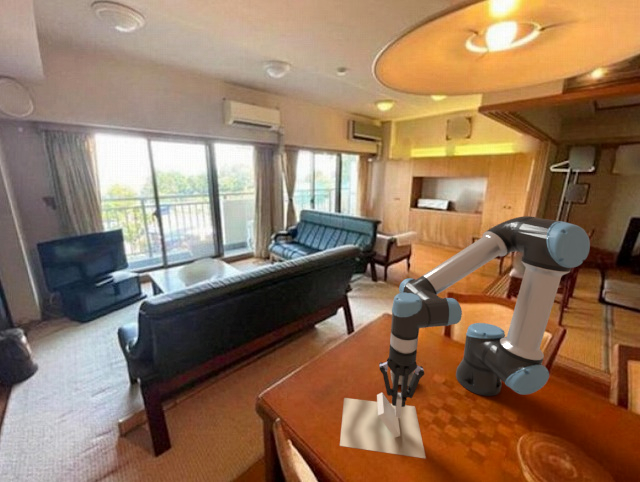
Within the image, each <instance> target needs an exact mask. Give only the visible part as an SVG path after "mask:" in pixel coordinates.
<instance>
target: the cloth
mask: <svg viewBox="0 0 640 482" xmlns="http://www.w3.org/2000/svg"><path fill="white" fill-rule="evenodd" d="M390 404H391V405H392V402H391V403H390ZM342 407H343V408H342V419H341V426H340V427H341V429H340V439H339V440H340V441H339V446H340V447H346V448H352V449H358V450H367V451H372V452H373V451H374V452H380V453H387V454H392V455H399V456H406V457H412V458H413V457H414V458H421V459H424V460H425V459H427V456H426V451H425V447H424V444H423V439H422V434H421V429H420V424H419V420H418V415H417V409H416V406H414V405H407V404H405V407H401V417H398V421H399V429H400V436H398V437H396V438H394V437H393V435H392V434H391V432H390V431H389V430H388V428H387V427H386V426H385V424H384V423H383V422H382V420H381V419H380V418H379V416H378V405H377V401H375V400H374V401H372V400H366V399H365V400H364V399H356V398H348V397H344V398H343V406H342ZM392 407H393V408H394V409H395V406H393V405H392Z"/></svg>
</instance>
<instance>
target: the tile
mask: <svg viewBox="0 0 640 482" xmlns="http://www.w3.org/2000/svg"><path fill="white" fill-rule="evenodd" d="M376 402H377V405H378V416H379V418H380V419H381V420H382V422H383V423H384V424H385V426H386V427H387V428H388V430H389V431H390V432H391V434H392V435H393V437H394V438H396V437H398V436H400V429H399V421H398V417H395V409H394V408H393V407H392V405H391V404H392V403H391V404H390V401H389V400H388V398H387V397H386V396H385V394H384V393H383V392H380V393H378V394H376Z"/></svg>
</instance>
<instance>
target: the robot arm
mask: <svg viewBox="0 0 640 482" xmlns="http://www.w3.org/2000/svg"><path fill="white" fill-rule="evenodd" d="M590 247H591V241H590V237H589V234H587V232H586V230H585V229H584V228H582V227H581V226H579V225H577V224H573V223H569V222H567V221H562V220H553V219H547V218H540V217H537V216H531V215H530V216H529V215H528V216H526V215H524V216H518V217H514V218H511V219H508V220H505V221H503V222H501V223H498V224H497V225H495V226H493V227H491V228H490V229H488V230H486V231H485V232H483V234H482V237H481V238H479V239H477V240H476V241H475V242H472V244H470V245H468V246H467V247H465V248H464V249H462V250H461V251H459V252H458V253H456V254H454V255H453V256H451V257H449V258H448V259H446V260H444V261H443V262H441V263H439V265H437V266H435V267H434V268H432V269H431V270H429V271H427V272H426V273H424V274H422V275H421V276H420V277H418V278H417V279H415V278H412V277H411V278H408V277H407V278H405V279H403V280H402V281H401V282H400V284H399V286H398V287H399V288H398V291H399V293H397V294H396V295H394V297H393V302H392V307H391V326H390V327H391V329H390V340H389V343H390V344H389V351H388V352H389V353H388V358H387V359H386V362H381V361H380V362H379V371H380V372H381V375H382V376H383V381H384V382H383V383H384V387H385V392H386V395H387V396H389V397H390V396H391V404H392V405H393V406H395V417H401V407H405V405H406V402H407V398H409V399H412V398H413V397H414V394H415V392H416V390H417V387H418V385H419V383H420V380H421V378H422V377H423V376H424V375H425V371H424V367H423V366H422V365H421V366H419V364H418V363H417V355H418V351H417V350H418V342H419V334H420V329H424V328H425V329H426V328H434V327H448V326H451V325H457V324H458V323H460V321H461V320H462V317H463V316H462V315H463V310H462V307H461V305H460V303H459V301H457V299H455V298H453V297H444V298H443V297H440V296H438V295H439V294H441V292H444V291H445V290H447V289H448V288H450V287H451V286H453V285H454V284H456V283H457V282H459V281H461V280H463V279H464V278H466V277H467V276H468V275H470V274H472V273H474V272H475V271H476V270H478V269H481V267H482V266H484V265H486V264H488V263H489V262H490V261H492V260H494V259H495V258H497V257H504V256H506V255H508V254H509V253H513V252H514V253H515V252H517V253H520V254H521V253H522V257H521V260H520V261H521V264H522V265H523V267H524V268H525V269H524V272H523V277H522V280H521V284H520V287H519V291H518V295H517V297H516V298H517V299H516V301H515V302H516V303H515V306H514V310H513V313H512V317H511V319H510V325H509V327H508V330H507V334H505V330H503V329H502V328H501V327H499V326H497V325H495V324H490V323H485V322H475V323H472V324H470V325H468V327H467V330H466V333H465V343H464V350H463V357H462V360H461V361H460V362H459V365H457V367H456V371H455V377H456V380H457V382H458V383H459V384H460V385H461V386H462V387H463V388H465V389H467V391H469V392H471V393H473V394H476V395H479V396H485V397H492V396H498V394H500V392H501V390H502V382H503V383H504V384H505V385H506V387H508V388H509V389H511V390H512V391H513V392H515V393H517V394H519V395H526V396H527V395H531V394H534V393H536V392H537V391H539V390H541V389H542V388H544V386H545V385H546V384H547V383H548V381H549V378H550V371H549V370H548V368H547V367H546V366H545V365H543V360H544V357H545V355H544V352H543V351H542V349H541V345H542V341H543V339H544V334H545V331H546V330H547V329H546V328H547V325H548V322H549V319H550V316H551V311H552V309H553V305H554V302H555V299H556V295H557V293H558V288H559V286H560V284H561V283H560V282H561V278H562V277H563V276H564V275H567V274H569V273H570V272H571V271H572V268H576V267H579V266H580V265H582V264H583V262H584V261H585V260H586V259H587V258H588V256H589V254H590ZM506 335H507V336H506ZM389 369H390V372H391V371H392V372H393V373H394V376H393V384H392V388H391V385H390V380H389V379H390V378H389V373H388V370H389ZM413 371H414V375H413V377H412V379H411V382H410V384H409V386H407V383H408V377H409V375H410V374H411V373H412V372H413ZM399 376H402V385H401V386H400V387H401V388H400V389H401V390H400V392H399V385H398V382H399Z"/></svg>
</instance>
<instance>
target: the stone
mask: <svg viewBox="0 0 640 482" xmlns="http://www.w3.org/2000/svg"><path fill="white" fill-rule="evenodd" d="M414 372H415V370H414V371H413V372H412V373H411V374H410V375H409V377H408V383H407V387H409V384H410V382H411V379H412V377H413V375H414ZM393 376H394V373H393V372H392V371H391V370H390V377H391V378H390V379H391V383H392V385H393ZM399 385H401V386H402V376H399V382H398V386H399Z"/></svg>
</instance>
